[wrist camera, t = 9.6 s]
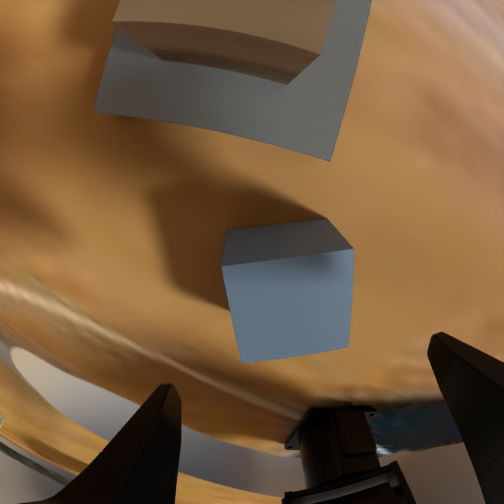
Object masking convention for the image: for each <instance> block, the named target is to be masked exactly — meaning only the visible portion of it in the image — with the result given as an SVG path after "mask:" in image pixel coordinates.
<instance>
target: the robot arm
mask: <svg viewBox="0 0 504 504" xmlns="http://www.w3.org/2000/svg"><path fill="white" fill-rule="evenodd" d="M427 355H428V359H429V361H430V364H431V367H432V369H433V372H434V375H435V377H436V380H437V383H438V386H439V388H440V391H441V393H442V395H443V397H444V399H445V401H446V403H447V406H448V408H449V410H450V412H451V414H452V416H453V419H454V421H455V423H456V425H457V428H458V430H459V432H460V435H461V437H462V439H463V442H464V444H465V447H466V449H467V452H468V454H469V457H470V459H471V462H472V465H473V467H474V470H475V473H476V475H477V479H478V481H479V484H480V487H481V490H482V494H483V497H484V499H485V503H486V504H504V362H502V361H500V360H498V359H496V358H494V357H492V356H490V355H488V354H486V353H484V352H482V351H480V350H478V349H476V348H474V347H472V346H470V345H468V344H466V343H464V342H462V341H460V340H458V339H456V338H454V337H452V336H450V335H448V334H446V333H444V332H439V333H436V334H433V335H432V337H431V340H430V343H429V347H428V351H427ZM181 406H182V404H181V398H180V396H179V394H178V393H177V391H176V389H175V387H174V385H173V384H171V383H164V384H160V385H159V386H158V387H157V388H156V390H155V391H154V392H153V393H152V394H151V395H150V396H149V398H148V399H147V400H146V401H145V402H144V403H143V405H142V406H141V407H140V408H139V409H138V410H137V411H136V413H135V414H134V415H133V416H132V417H131V418H130V419H129V421H128V422H127V423H126V424H125V425H124V426H123V427H122V429H121V430H120V431H119V432H118V433H117V434H116V435H115V437H114V438H113V439H112V440H111V441H110V442H109V443H108V444H107V446H106V447H105V448H104V449H103V450H102V451H103V452H100V453H99V455H98V456H97V457H96V458H95V459H94V460H93V461H92V462H91V463H90V464H89V465H88V466H87V467H86V468H85V469H84V470H83V471H82V472H81V473H80V474H79V475H78V476H77V477H76V478H74V479H73V480H72V481H71V482H70V483H69V484H67V485H66V486H65V487H64V488H63V489H62V490H60V491H59V492H58V493H57V494H56V495H54V496H52V497H50V498H48V499H46V500H41V501H34V502H28V503H19V504H175V495H176V485H177V475H178V466H179V457H180V449H181ZM376 415H377V411H376V409H375V408H359V409H337V408H312V409H310V410H308V411H307V413H306V414H305V416H304V417H303V419H302V420H301V422H300V423H299V425H298V426H297V427H296V429H295V430H294V432H293V433H292V434H291V436H290V437H289V438H288V440H287V441H286V442H285V444H284V447H285V449H286V450H300V454H301V460H302V465H303V472H304V478H305V485H306V489H305V490H300V491H295V492H292V491H289V492H285V498H283V499H282V504H416V502H415V500H414V497H413V495H412V493H411V490H410V488H409V486H408V484H407V482H406V480H405V477H404V475H403V473H402V471H401V469H400V467H399V465H398V462H397V461H394V462H391V463H390V464H389V465H387V466H384V467H381V466H380V463H379V460H378V457H377V454H376V450H377V447H376V444H375V441H374V439H373V436H372V433H371V430H370V427H369V423H370V422H371V420H372V419H373V418H374V417H375V416H376Z"/></svg>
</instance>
